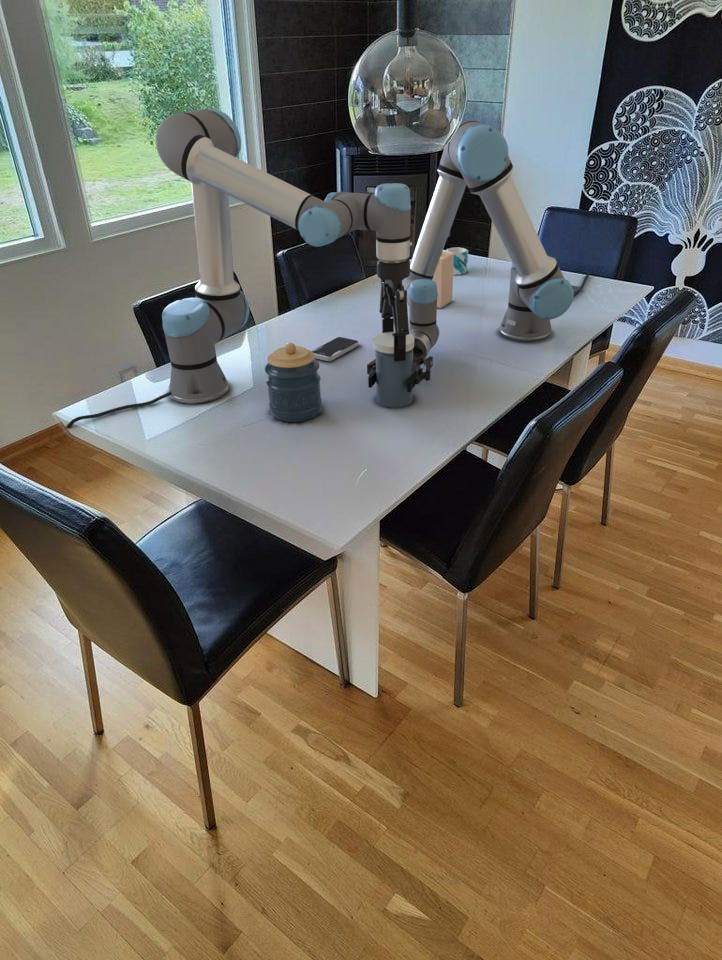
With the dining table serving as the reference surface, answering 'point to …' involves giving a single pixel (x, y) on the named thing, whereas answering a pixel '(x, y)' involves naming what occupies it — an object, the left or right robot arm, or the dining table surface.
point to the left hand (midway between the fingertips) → (393, 352)
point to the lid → (390, 342)
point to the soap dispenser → (444, 278)
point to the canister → (293, 384)
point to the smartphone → (334, 348)
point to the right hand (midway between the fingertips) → (389, 384)
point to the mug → (459, 260)
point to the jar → (393, 379)
